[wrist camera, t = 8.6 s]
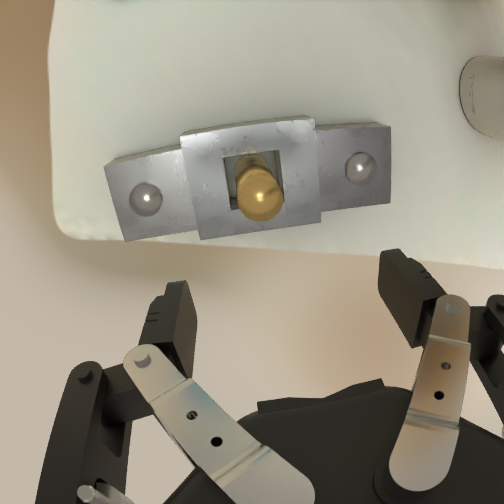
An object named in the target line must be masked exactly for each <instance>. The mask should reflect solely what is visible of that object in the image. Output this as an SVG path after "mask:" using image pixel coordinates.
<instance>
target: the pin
mask: <svg viewBox="0 0 504 504" xmlns="http://www.w3.org/2000/svg"><path fill="white" fill-rule="evenodd" d="M235 179H236V188H237V198H238V206H239V209H240V211H241V212H242V214H243V215H244V216H245V217H247V218H248V219H250V220H252V221H257V222H264V221H268V220H270V219H272V218H274V217H275V216H276V215H277V214H278V213H279V212H280V210H281V208H282V206H283V194H282V191H281V189H280V187H279V185H278V183H277V182H276V180H275V178H274V176H273V174H272V172H271V170H270V168H269V167H268V165H267V163H266V161H265V160H264V159H263V158H261V157H259V156H257V155H247V156H245V157H243V158H241V159H240V160H239V161H238V163H237V164H236V167H235Z"/></svg>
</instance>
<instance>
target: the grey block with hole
mask: <svg viewBox="0 0 504 504" xmlns="http://www.w3.org/2000/svg"><path fill="white" fill-rule="evenodd" d="M180 143H181V144H179V145H174V146H169V147H164V148H159V149H154V150H150V151H145V152H141V153H137V154H132V155H128V156H124V157H120V158H116V159H114V160H112V161H111V162H110V163H108V164H107V165H105V166H104V170H105V174H106V178H107V182H108V185H109V189H110V193H111V197H112V200H113V204H114V207H115V211H116V214H117V217H118V221H119V224H120V227H121V231H122V234H123V237H124V240H125V242H128V241H133V240H139V239H145V238H151V237H157V236H163V235H169V234H175V233H181V232H187V231H193V230H198V231H199V236H200V240H205V239H211V238H218V237H224V236H231V235H237V234H244V233H251V232H257V231H264V230H271V229H278V228H285V227H292V226H299V225H306V224H313V223H320V222H321V213H320V212H323V211H330V210H338V209H346V208H354V207H362V206H370V205H378V204H387V203H390V198H391V127H390V126H386V125H383V124H380V123H376V122H373V123H348V124H332V125H318V126H315V124H314V118H311V117H308V116H294V117H283V118H274V119H265V120H257V121H249V122H242V123H235V124H228V125H222V126H216V127H210V128H204V129H198V130H193V131H187V132H184V133H183V134H182V135H181V136H180ZM274 150H275V156H276V165H277V174H278V183H279V187H280V189H281V191H282V194H283V206H282V208H281V210H280V212H279V213H278V214H277V215H276V216H275V217H274V218H272V219H270V220H268V221H264V222H257V221H252V220H250V219H248V218H247V217H245V216H244V215H243V214H242V212H241V211H240V209H239V206H238V198H232V199H230V193H229V187H228V181H227V175H226V168H225V162H224V157H230V156H237V155H244V154H251V153H258V152H266V151H274Z"/></svg>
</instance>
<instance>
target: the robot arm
mask: <svg viewBox="0 0 504 504" xmlns="http://www.w3.org/2000/svg"><path fill="white" fill-rule="evenodd" d="M460 98H461V103H462V107H463V110H464V113H465V115H466V117H467V119H468V121H469V122H470V124H471V125H472V126H473V127H474V128H475V129H476V130H477V131H479V132H480V133H483V134H485V135H488V136H491V137H494V138H497V139H500V140H502V141H504V57H492V56H478V57H475V58H473V59H471V60H470V61H469V62H468V63H467V65H466V66H465V68H464V70H463V72H462V75H461V81H460ZM378 290H379V294H380V296H381V298H382V299H383V301H384V302H385V304H386V306H387V308H388V309H389V311H390V312H391V314H392V316H393V317H394V319H395V320H396V322H397V324H398V326H399V328H400V329H401V331H402V333H403V334H404V336H405V338H406V340H407V341H408V343H409V345H410V346H411V348H415V347H419V346H422V347H423V353H422V356H421V360H420V363H419V366H418V370H417V374H416V376H415V380H414V383H413V386H412V389H411V391H410V390H407V389H404V388H399V387H390V386H384V383H383V381H382V379H381V378H380V379H376V380H372V381H368V382H364V383H359V384H355V385H352V386H349V387H347V388H345V389H343V390H341V391H339V392H336V393H334V394H332V395H330V396H327V397H325V398H292V397H288V398H281V399H275V400H267V401H260V402H257V407H258V411H256V412H253V413H251V414H249V415H247V416H245V417H243V418H241V419H240V420H238V421H237V422H236V421H235V420H233V418H231V417H230V416H229V415H228V414H227V413H226V412H225V411H224V410H223V409H222V408H221V407H220V406H219V405H218V404H217V403H216V402H215V401H214V400H213V399H212V398H211V397H210V396H209V395H208V394H207V393H206V392H205V391H204V390H203V389H202V388H201V387H200V386H199V385H198V384H197V383H196V382H195V381H194V380H193V379H192V373H193V362H194V351H195V342H196V331H197V315H196V310H195V307H194V303H193V300H192V297H191V293H190V290H189V286H188V283H187V281H186V280H184V281H176V282H169V283H168V284H167V286H166V290H165V294H164V295H163V296H157V297H156V298H155V300H154V301H153V302H152V303H151V304H150V307H149V310H148V313H147V314H148V315H147V317H146V320H145V321H146V322H145V323H144V327H143V330H142V333H141V337H140V340H139V344H138V346H137V347H135V348H133V349H132V350H130V351H129V352H128V353H127V354H126V356H125V357H124V360H123V363H122V364H119V365H116V366H113V367H110V368H106V369H102V367H101V366H100V364H98V363H97V362H94V361H87V362H83V363H81V364H79V365H77V366H76V367H75V368H74V369H73V370H72V371H71V373H70V375H69V377H68V380H67V383H66V386H65V389H64V392H63V395H62V398H61V401H60V405H59V408H58V411H57V414H56V418H55V421H54V425H53V428H52V432H51V435H50V439H49V443H48V447H47V451H46V455H45V459H44V463H43V467H42V472H41V476H40V481H39V485H38V490H37V495H36V501H35V504H134V503H133V501H132V500H130V499H129V498H128V497H126V496H125V486H126V475H127V465H128V455H129V446H130V436H131V429H132V421H133V420H136V419H139V418H143V417H146V416H150V415H154V417H155V418H156V419H157V421H158V422H159V423H160V425H161V426H162V427H163V429H164V430H165V431H166V432H167V434H168V435H169V436H170V438H171V439H172V440H173V441H174V443H175V444H176V445H177V446H178V448H179V449H180V450H181V452H182V453H183V454H184V456H185V457H186V458H187V459H188V460H189V462H190V463H191V464H192V465H193V466H194V468H195V469H194V470H193V471H192V472H191V473H190V474H189V476H188V477H187V478H186V479H185V480H184V481H183V482H182V483H181V485H180V486H179V487H178V488H177V489H176V490H175V491H174V492H173V493H172V494H171V496H170V497H169V498H168V499H167V500H166V501H165V502H164V503H163V504H504V354H503V353H502V351H501V348H502V346H503V345H504V295H492V296H490V297H489V298H488V301H487V303H486V306H477V307H476V306H474V307H473V306H472V307H471V306H470V305H469V304H468V302H467V301H466V300H464V299H463V298H461V297H459V296H456V295H448V294H446V292H445V291H444V290H443V288H442V287H441V286H440V285H439V284H438V283H437V281H436V280H435V279H434V278H433V277H432V276H431V274H430V273H429V272H427V270H426V269H425V268H424V267H423V265H422V264H421V263H419V262H417V261H416V260H414V259H412V258H407V257H406V256H405V255H404V253H403V252H402V251H401V250H400V249H398V248H397V249H391V250H385V251H382V252H381V254H380V262H379V275H378ZM469 361H470V362H471V364H472V366H473V367H474V369H475V371H476V373H477V375H478V376H479V378H480V380H481V382H482V384H483V386H484V387H485V389H486V391H487V393H488V395H489V397H490V399H491V401H492V403H493V404H494V407H495V409H496V411H497V413H498V414H499V417H500V418H501V421H502V423H503V428H502V437H503V438H501V437H499V436H497V435H495V434H493V433H491V432H489V431H487V430H485V429H483V428H481V427H479V426H477V425H475V424H473V423H471V422H469V421H468V420H466V419H464V418H462V417H460V414H461V409H462V404H463V398H464V392H465V386H466V381H467V374H468V367H469Z"/></svg>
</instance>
